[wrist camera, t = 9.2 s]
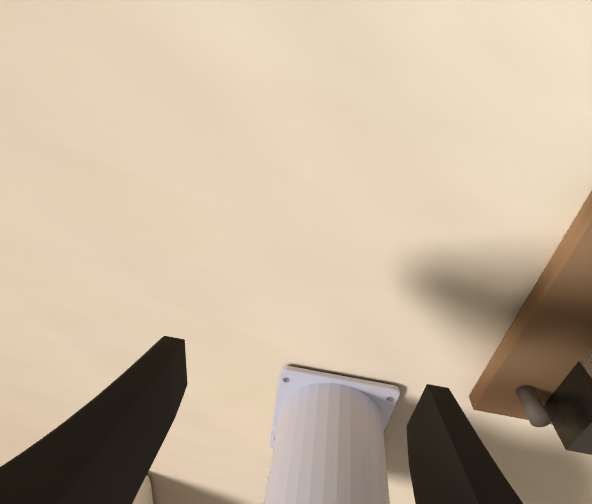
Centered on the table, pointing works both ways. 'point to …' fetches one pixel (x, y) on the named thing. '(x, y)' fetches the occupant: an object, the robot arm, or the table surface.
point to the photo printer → (144, 493)
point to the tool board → (544, 333)
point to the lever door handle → (574, 407)
